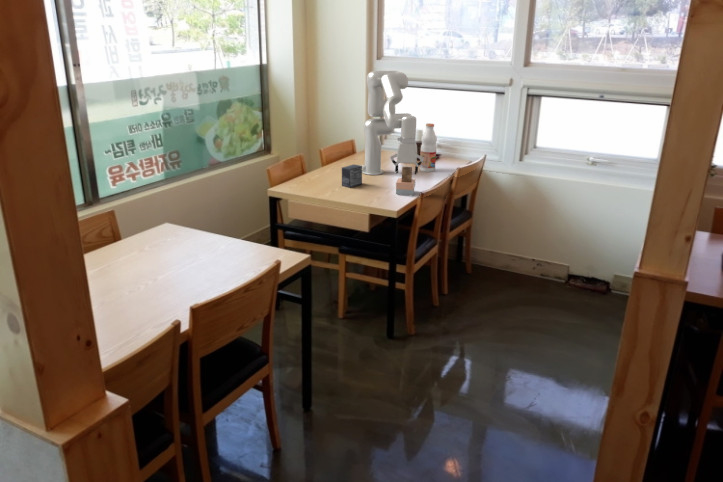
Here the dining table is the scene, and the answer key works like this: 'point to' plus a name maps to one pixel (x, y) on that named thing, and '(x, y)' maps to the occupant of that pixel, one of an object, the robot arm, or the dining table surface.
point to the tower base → (404, 192)
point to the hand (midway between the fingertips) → (406, 173)
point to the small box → (351, 176)
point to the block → (406, 174)
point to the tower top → (405, 184)
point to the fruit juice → (428, 149)
